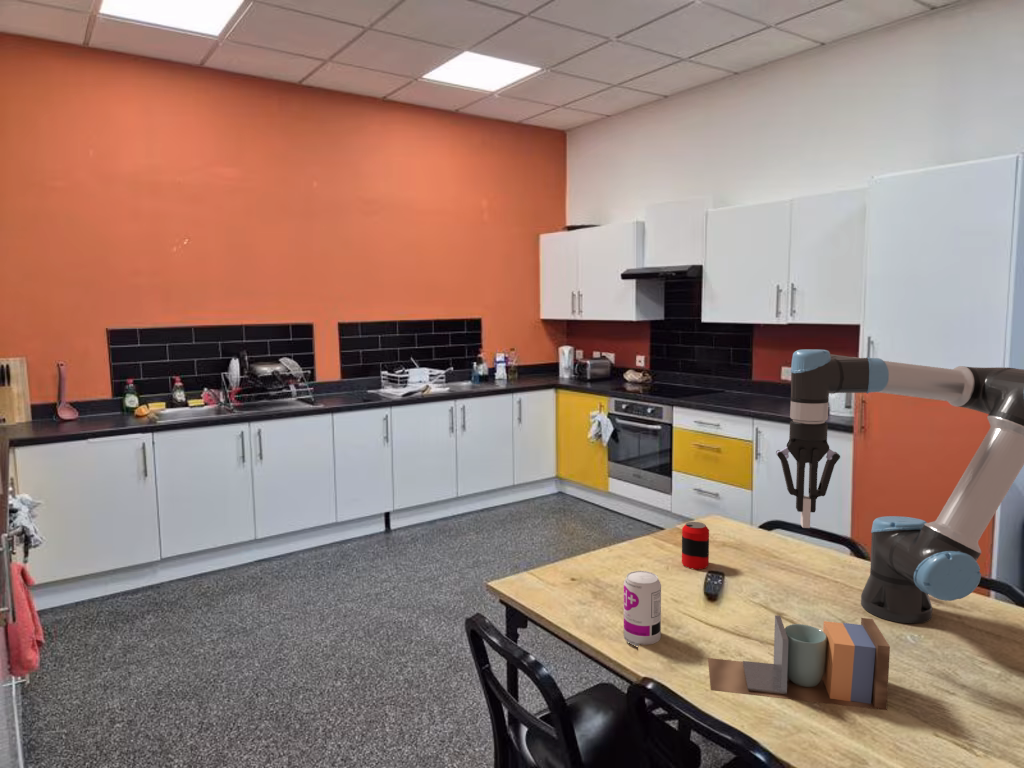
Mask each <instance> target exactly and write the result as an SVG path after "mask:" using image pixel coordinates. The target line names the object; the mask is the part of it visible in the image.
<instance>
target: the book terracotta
mask: <svg viewBox="0 0 1024 768" xmlns="http://www.w3.org/2000/svg"><path fill="white" fill-rule="evenodd" d="M843 623H844V622H836V621H834V622H832V621H828V620H823V626H822V627H823V628H822V631H823V632H824V633H825V634H826V637H827V653H826V666H825V672H824V676H823V682H824V684H825V687H826V689H827V692H828V695H829V697H830V699H837V700H844V701H850V700H851V687H852V675H853V663H854V650H855V645H854V643H853V641H852V640H851V638H850V636H849V634H848V632H847V630H846V628H845V626H844V624H843Z"/></svg>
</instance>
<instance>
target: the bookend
mask: <svg viewBox="0 0 1024 768" xmlns="http://www.w3.org/2000/svg"><path fill="white" fill-rule="evenodd" d="M785 628H786V627H785V626H784V623H783V620H782V617H781V615H777V614H775V615H774V632H773V633H774V637H773V639H774V641H773V642H774V643H773V663H768V662H767V663H766V662H757V661H747V660H742V662H743V667H744V673H745V678H746V683H747V688H748V690H750V691H759V692H768V693H777V694H786V695H787V669H788V637H787V634H786V631H785Z"/></svg>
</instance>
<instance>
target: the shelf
mask: <svg viewBox="0 0 1024 768" xmlns="http://www.w3.org/2000/svg"><path fill="white" fill-rule="evenodd" d="M860 620H861V621H860V625H863V627H864V629H865V630H866V632H867V634H868V636H869V637H870V639H871V641H872V642H873V644H874V646H875V648H876V650H875V662H874V674H873V686H872V697H871V704H869V703H862V702H855V701H844V700H837V699H830V697H829V695H828V692H827V689H826V687H825V684H824V682H823V679H822V681H821V682H820V683H819V684H818V685H816V686H814V687H803V686H799V685H797V684H795V683H793V682H792V681H790V680H789V679H788V677H787V695H786V694H777V693H768V692H759V691H750V690H748V688H747V683H746V678H745V673H744V667H743V660H742V661H741V660H731V659H724V658H723V659H721V658H713V657H712V658H711V657H708V658H707V664H708V675H709V684H710V685H709V686H710V691H715V692H725V693H732V694H733V693H734V694H743V695H749V696H750V695H751V696H760V697H766V698H767V697H768V698H769V697H770V698H777V699H785V700H795V701H802V702H810V703H811V702H812V703H821V704H829V705H837V706H845V707H855V708H862V709H863V708H865V709H871V710H872V709H874V710H882V711H888V695H889V692H888V691H889V676H890V675H889V674H890V673H889V671H890V652H891V646H890V644H889V642H888V641H887V639H886V638H885V637H884V635H883V633H882V632H881V630H880V629H879V627H878V625H877V623H876V622H875V621H874V619H873V618H865V617H861V619H860Z"/></svg>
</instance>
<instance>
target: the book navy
mask: <svg viewBox="0 0 1024 768" xmlns="http://www.w3.org/2000/svg"><path fill="white" fill-rule="evenodd" d="M842 623H843V624H844V626H845V628H846V630H847V632H848V634H849V636H850V638H851V640H852V641H853V643H854V645H855V650H854V663H853V675H852V687H851V700H850V701H855V702H862V703H869V704H871V697H872V686H873V674H874V662H875V650H876V648H875V646H874V644H873V642H872V641H871V639H870V637H869V636H868V634H867V632H866V630H865V629H864V627H863V625H861V624H859V623H858V624H857V623H848V622H842Z"/></svg>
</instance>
